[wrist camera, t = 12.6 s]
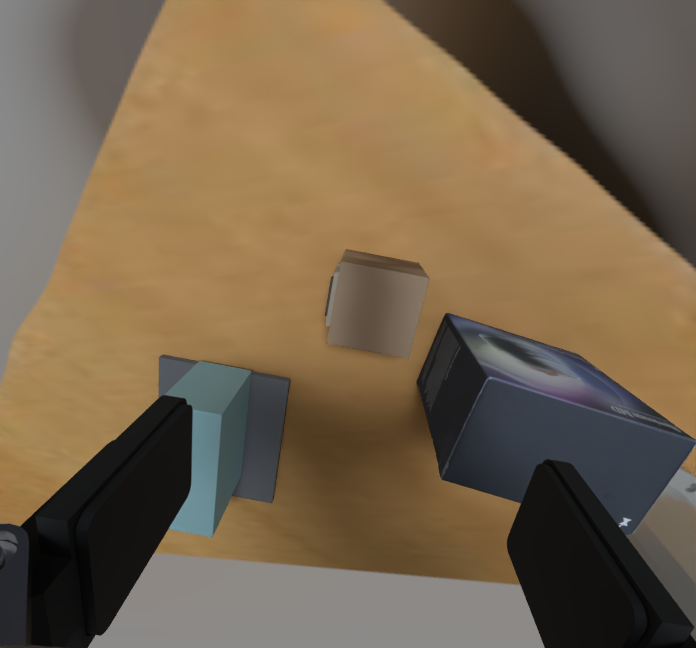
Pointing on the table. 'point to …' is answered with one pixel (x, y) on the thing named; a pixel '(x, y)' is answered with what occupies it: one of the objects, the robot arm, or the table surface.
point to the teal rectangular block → (213, 441)
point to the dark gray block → (248, 426)
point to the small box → (542, 420)
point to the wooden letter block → (375, 303)
